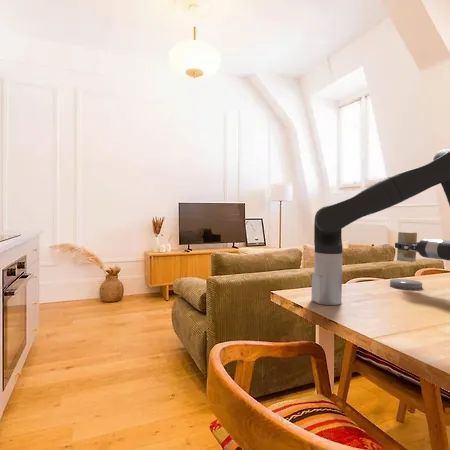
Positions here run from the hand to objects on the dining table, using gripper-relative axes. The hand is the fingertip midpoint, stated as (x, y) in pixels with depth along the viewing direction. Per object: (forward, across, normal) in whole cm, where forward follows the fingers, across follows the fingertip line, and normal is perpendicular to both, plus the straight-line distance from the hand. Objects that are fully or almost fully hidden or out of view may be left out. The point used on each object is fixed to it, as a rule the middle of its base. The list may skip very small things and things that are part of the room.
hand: (403, 245), depth 145 cm
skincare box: (-2, 0, +7) cm, 7 cm away
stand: (-2, 0, +17) cm, 17 cm away
